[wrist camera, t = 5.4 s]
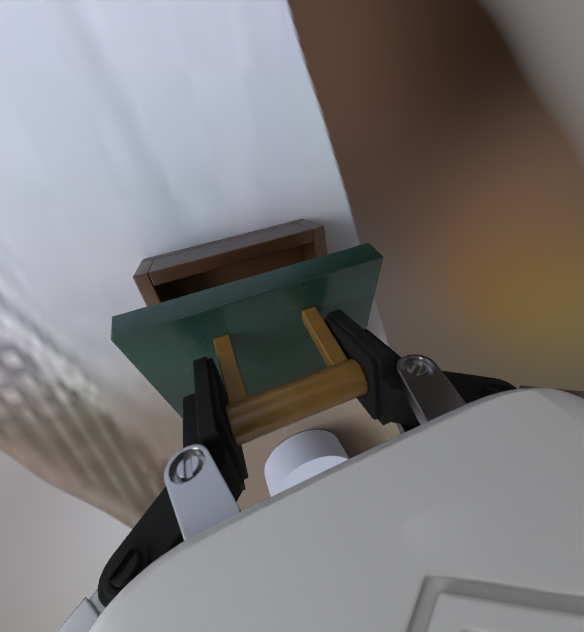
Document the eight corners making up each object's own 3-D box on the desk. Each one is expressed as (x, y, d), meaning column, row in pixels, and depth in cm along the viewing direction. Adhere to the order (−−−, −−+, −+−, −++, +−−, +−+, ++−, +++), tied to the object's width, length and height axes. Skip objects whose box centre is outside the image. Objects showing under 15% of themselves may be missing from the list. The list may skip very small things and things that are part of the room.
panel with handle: (111, 316, 11) (102, 469, 7) (369, 242, 13) (458, 331, 9) (208, 434, 21) (224, 521, 17) (343, 380, 23) (382, 448, 19)
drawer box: (141, 259, 18) (132, 277, 15) (302, 218, 20) (324, 225, 17) (206, 400, 24) (208, 434, 21) (324, 357, 26) (343, 382, 23)
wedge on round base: (364, 467, 36) (317, 416, 29) (397, 521, 30) (349, 473, 24) (307, 509, 36) (247, 468, 29) (330, 572, 30) (262, 539, 23)
